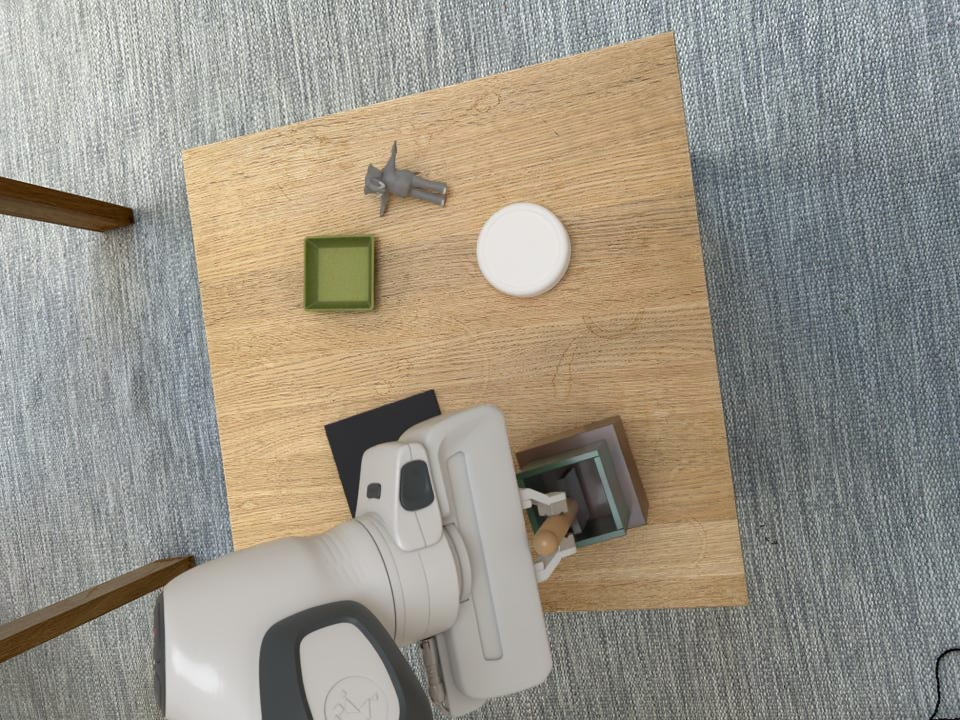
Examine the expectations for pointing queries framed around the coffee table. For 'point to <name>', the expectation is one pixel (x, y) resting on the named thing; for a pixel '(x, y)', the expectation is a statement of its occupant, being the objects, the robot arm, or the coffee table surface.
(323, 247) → the green square dish
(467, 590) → the robot arm
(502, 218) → the white round tub
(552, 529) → the spatula
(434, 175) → the coffee table surface
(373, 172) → the elephant figurine
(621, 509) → the open box
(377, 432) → the mat
